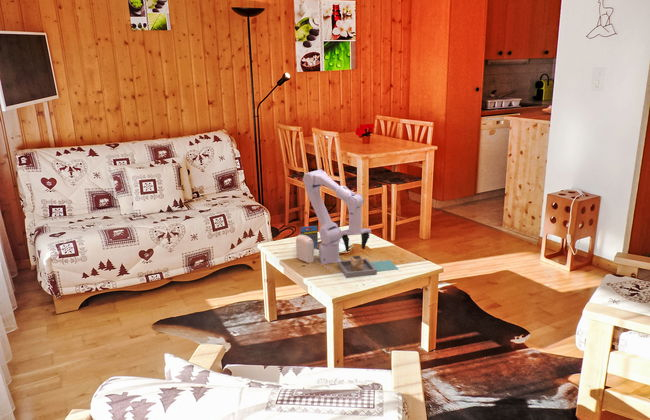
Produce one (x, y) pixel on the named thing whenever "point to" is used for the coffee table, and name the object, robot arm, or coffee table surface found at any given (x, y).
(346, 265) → the parts bin
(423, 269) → the coffee table surface
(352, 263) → the maple block
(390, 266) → the teal board
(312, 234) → the label tape cartridge
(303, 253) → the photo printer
